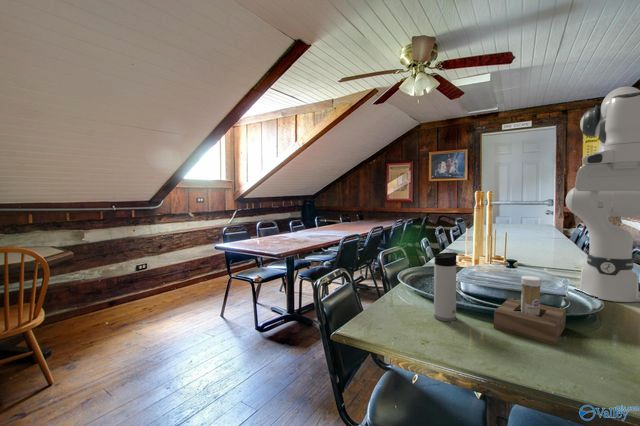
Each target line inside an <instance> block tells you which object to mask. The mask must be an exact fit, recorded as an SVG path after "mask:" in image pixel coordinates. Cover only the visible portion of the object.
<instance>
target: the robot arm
mask: <svg viewBox="0 0 640 426" xmlns="http://www.w3.org/2000/svg"><path fill="white" fill-rule="evenodd" d="M579 122H580V124H579V125H580V127H579V128H580V130H581V132H582V134H583V135H584V136H586V137H598V141H600V144H599V146H598V148H597V151H596V152H594V153H592V154H587V155H585V156H583V157H582V158H581V160H582V161H581V163H582V166H580V167H579V169H577V172H576V177H575V182H574V183H575V184H574V187H573V188H571V189H569V191H568V192H567V194H566V197H565V206H566V208H567V209H568V210H569V212H571V213H572V214H573V215H575V216H577V218H579V219H580V220H581V221H582V222H583V224H584V226H585V227H586V229H587V232H588V238H589V240H588V242H589V251H588V252H589V253H588V254H587V256H586V266H584V267H583V268H581V272H580V283H579V284H577V285H575V286H574V287H575V288H577V289H580V290H582V291H585V292H587V293H590V294H592V295H594V296H596V297H598V298H597V299H599V300H605V301H609V302H619V303H633V302H634V303H636V302H637V303H638V302H639V303H640V291H639V290H640V286H639V275H637V273H636V272H634V271H633V269H634V265H635V261H634V257H633V247H634V246H633V244H634V243H633V242H634V238H633V234H631V232H629V231H628V230H627V229H624V228H623V227H621V226H619V225H618V226H617V225H615V224H613V223H611V222H610V220H609V218H611V217H615V218H616V217H619V218H620V217H621V218H622V217H623V218H640V89H639V88H637V87H633V86H626V85H625V86H621V87H617V88H615V89H613V90H611V91H610V92H609V93H608V94H606V96H605V97H604V99H603V100H602V102H601V105H599V106H598V104H597V105H595V106H594V107H592V108H590V109H588V110H586V112H584V114H583V115H582V117H581V119H580V121H579Z"/></svg>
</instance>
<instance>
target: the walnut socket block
mask: <svg viewBox="0 0 640 426" xmlns="http://www.w3.org/2000/svg"><path fill="white" fill-rule="evenodd" d="M513 299H514V298H512V299H509V298H507V299H506V300H505V301H504V302H503V303H502V304H500V305H499V306H498V307H497V308H496V309H495V310H494V311H493V329H495V330H499V331H503V332H505V333H506V332H507V333H510V334H513V335H517V336H519V337H524V338H527V339H531V340H535V341H538V342H542V343H544V344H545V343H546V344H548V345H552V346H556V344H557V342H558V340H559V338H560V337H561V336H562V333H563V331H564V330H565V328H566V316H567V315H566V313H567V310H566V309H564V308H559V307H555V306H550V305H545V304H541V303H540V314H541V315H539V317H538V316H533V315H529V314H525V313H521V312H517V310H518V309H521V299H517V300H513Z"/></svg>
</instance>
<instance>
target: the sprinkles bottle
mask: <svg viewBox="0 0 640 426" xmlns="http://www.w3.org/2000/svg"><path fill="white" fill-rule="evenodd" d="M520 282H521V294H520V300H521V313H525V314H529V315H533V316H538V317H539V314H540V304H541V303H540V302H541V286H542V279H541V277H538V276H533V275H522V276H521V281H520Z"/></svg>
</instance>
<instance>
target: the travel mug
mask: <svg viewBox="0 0 640 426" xmlns="http://www.w3.org/2000/svg"><path fill="white" fill-rule="evenodd" d="M457 256H459V255H458V253H457V252H439V253H437V254H435V255H434V266H433V269H434V271H433V282H434V283H433V287H434V288H433V289H434V290H433V291H434V292H433V316H434V318H435V319H437V320H438V321H441V322H454V321H456V319H457V271H458V270H457Z"/></svg>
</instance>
